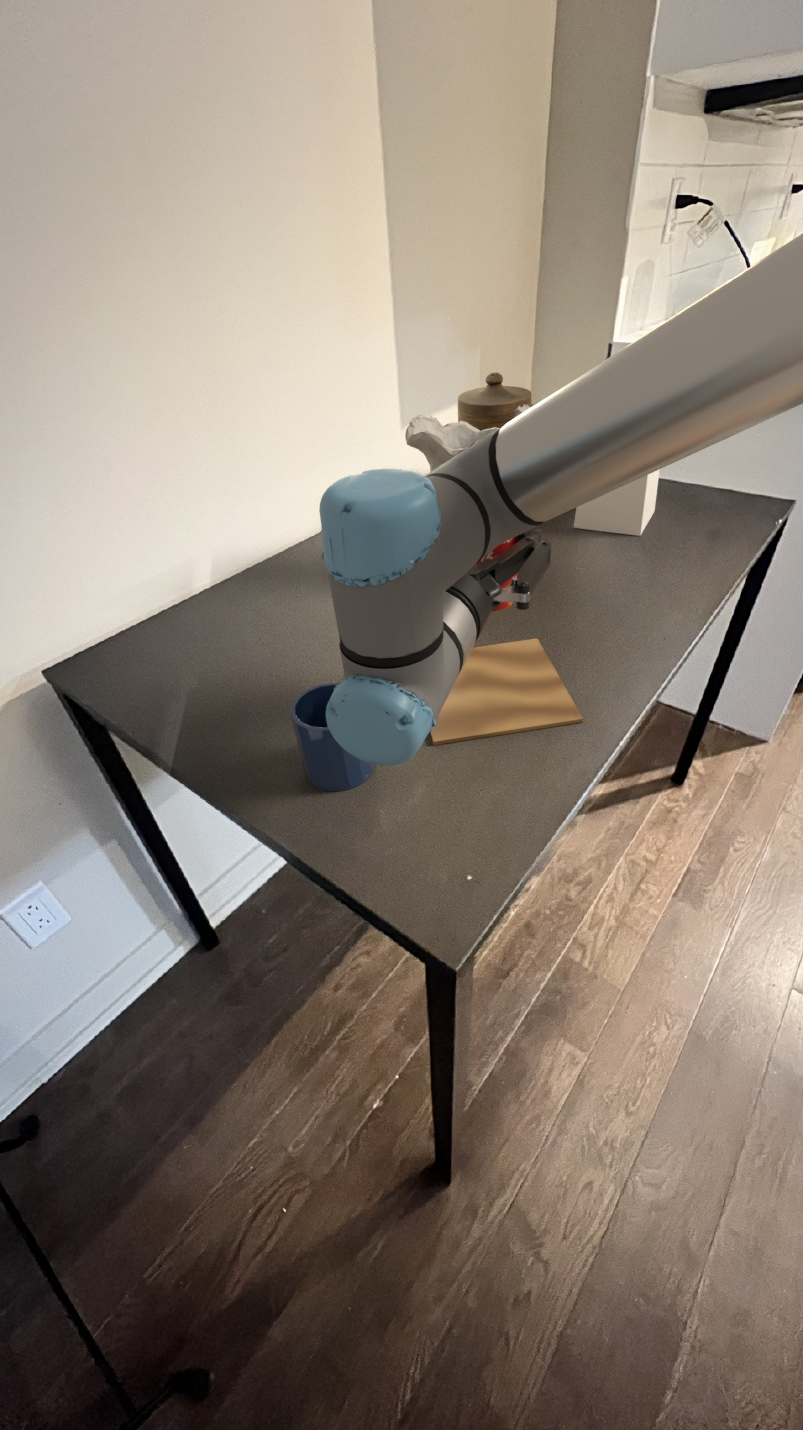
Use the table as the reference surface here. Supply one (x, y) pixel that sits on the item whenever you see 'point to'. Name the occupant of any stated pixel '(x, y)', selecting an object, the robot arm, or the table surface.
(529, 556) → the robot arm
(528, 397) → the wooden container
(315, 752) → the blue cup
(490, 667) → the wooden board
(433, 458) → the ceramic pitcher
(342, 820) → the table surface
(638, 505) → the milk
